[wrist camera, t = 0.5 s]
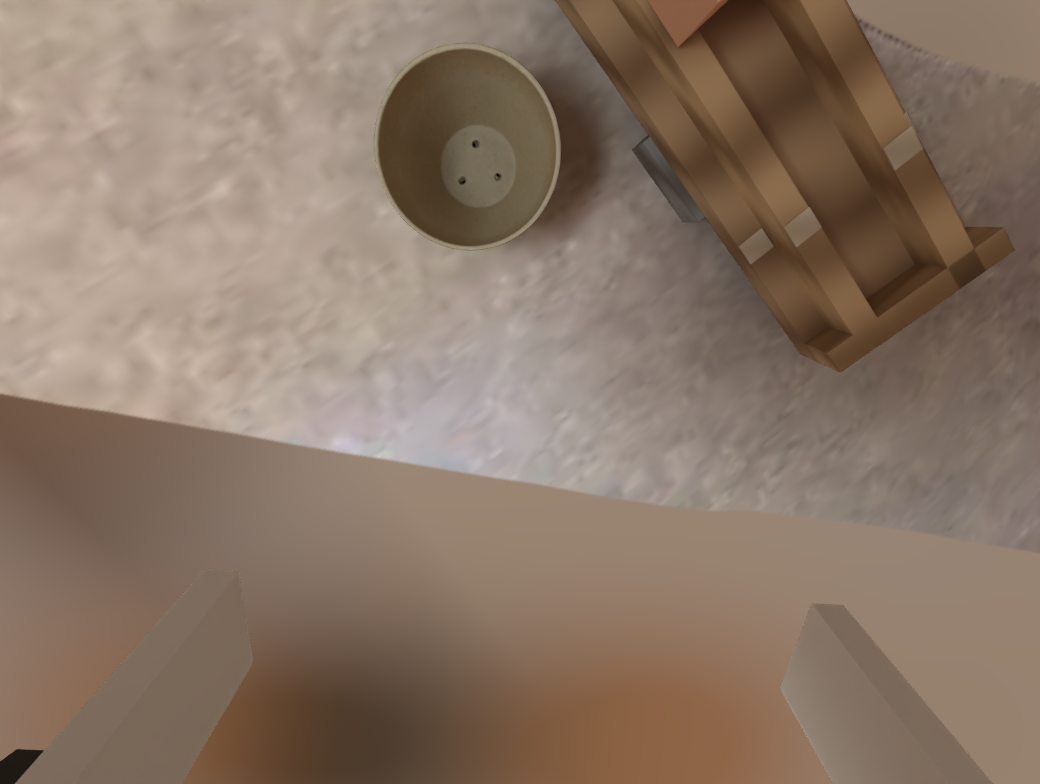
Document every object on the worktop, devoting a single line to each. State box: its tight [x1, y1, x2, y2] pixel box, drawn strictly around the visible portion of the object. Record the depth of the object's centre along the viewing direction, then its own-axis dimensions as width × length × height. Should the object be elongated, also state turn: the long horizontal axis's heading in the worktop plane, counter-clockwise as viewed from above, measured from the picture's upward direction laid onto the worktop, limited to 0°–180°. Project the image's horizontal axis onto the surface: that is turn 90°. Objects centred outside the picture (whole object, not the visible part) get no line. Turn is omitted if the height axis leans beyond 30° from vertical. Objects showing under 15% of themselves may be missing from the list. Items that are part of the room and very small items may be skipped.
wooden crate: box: [555, 0, 1015, 372], centre depth 28 cm, size 30×12×8 cm, turn 41°
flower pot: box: [374, 43, 561, 251], centre depth 29 cm, size 10×10×7 cm
